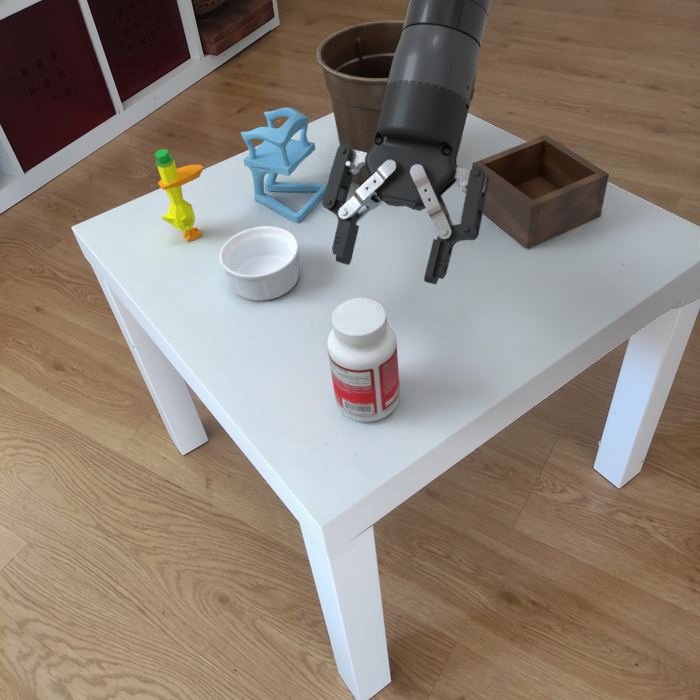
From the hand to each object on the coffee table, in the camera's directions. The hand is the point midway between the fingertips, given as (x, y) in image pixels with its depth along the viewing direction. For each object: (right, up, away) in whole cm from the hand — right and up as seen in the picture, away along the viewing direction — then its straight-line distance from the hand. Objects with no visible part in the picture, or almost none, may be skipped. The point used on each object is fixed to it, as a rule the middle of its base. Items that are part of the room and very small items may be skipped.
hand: (385, 272), depth 65 cm
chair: (-11, +12, +29) cm, 34 cm away
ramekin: (-13, +1, +18) cm, 22 cm away
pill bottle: (-1, -12, +5) cm, 13 cm away
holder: (+19, +10, +23) cm, 32 cm away
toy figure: (-23, +7, +25) cm, 35 cm away
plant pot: (+2, +18, +33) cm, 37 cm away
